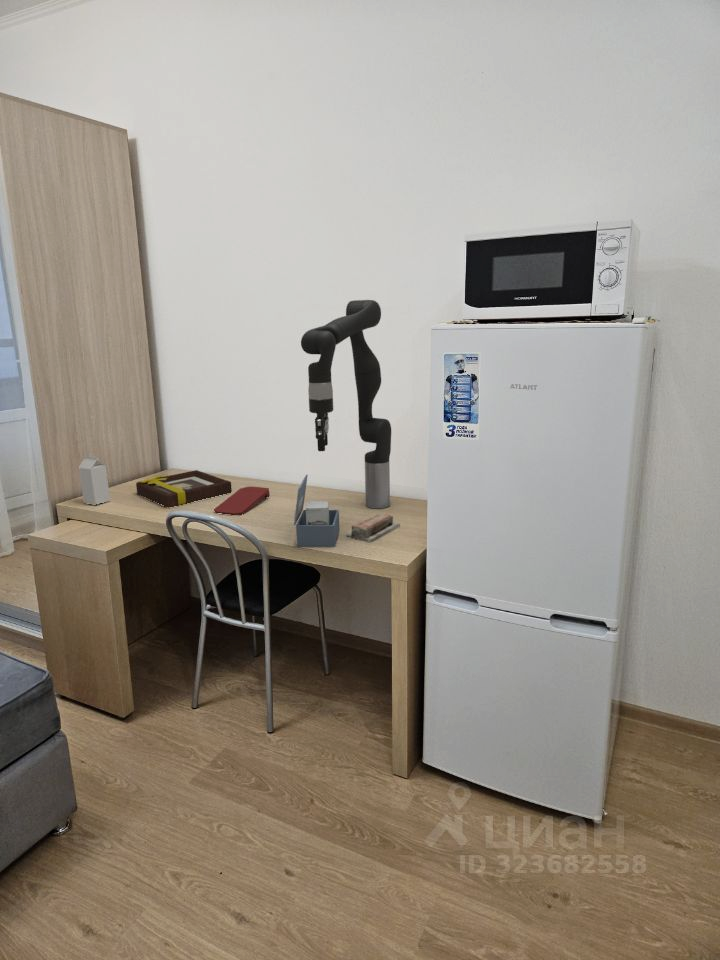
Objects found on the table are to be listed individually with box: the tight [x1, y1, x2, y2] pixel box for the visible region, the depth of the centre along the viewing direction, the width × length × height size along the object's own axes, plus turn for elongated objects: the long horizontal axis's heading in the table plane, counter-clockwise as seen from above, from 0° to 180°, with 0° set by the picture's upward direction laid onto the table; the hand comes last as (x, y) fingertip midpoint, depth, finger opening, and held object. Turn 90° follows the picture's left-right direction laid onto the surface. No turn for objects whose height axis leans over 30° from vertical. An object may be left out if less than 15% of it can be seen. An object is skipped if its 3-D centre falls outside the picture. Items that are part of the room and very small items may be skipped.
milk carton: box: [78, 455, 111, 506], centre depth 251 cm, size 7×7×19 cm
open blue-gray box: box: [295, 509, 341, 548], centre depth 209 cm, size 16×12×7 cm
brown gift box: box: [135, 469, 233, 508], centre depth 263 cm, size 28×7×30 cm
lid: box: [293, 474, 309, 526], centre depth 206 cm, size 16×12×1 cm
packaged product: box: [345, 513, 401, 543], centre depth 213 cm, size 18×5×10 cm
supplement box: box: [305, 500, 330, 525], centre depth 205 cm, size 7×7×13 cm
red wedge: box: [213, 485, 271, 516], centre depth 246 cm, size 12×5×25 cm
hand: (322, 448), depth 203 cm, fingers open, 7 cm apart
